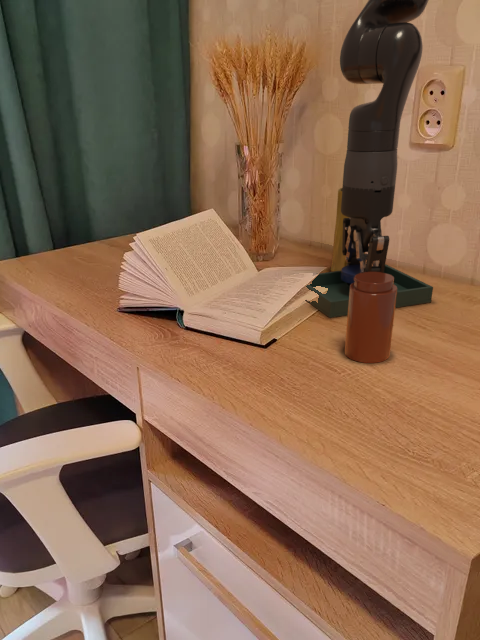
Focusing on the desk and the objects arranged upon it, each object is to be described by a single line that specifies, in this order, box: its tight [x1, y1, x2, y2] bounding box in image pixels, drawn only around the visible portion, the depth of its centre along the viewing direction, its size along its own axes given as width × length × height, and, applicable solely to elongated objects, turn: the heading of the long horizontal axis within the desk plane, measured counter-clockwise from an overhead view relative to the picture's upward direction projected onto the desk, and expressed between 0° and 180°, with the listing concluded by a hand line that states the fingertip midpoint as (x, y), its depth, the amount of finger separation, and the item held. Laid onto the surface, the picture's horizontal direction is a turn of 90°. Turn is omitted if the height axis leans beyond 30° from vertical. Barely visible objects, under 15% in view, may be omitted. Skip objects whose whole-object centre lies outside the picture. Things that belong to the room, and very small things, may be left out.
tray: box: [306, 263, 434, 319], centre depth 95 cm, size 17×13×2 cm
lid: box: [341, 264, 361, 284], centre depth 94 cm, size 6×6×2 cm
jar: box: [344, 272, 397, 364], centre depth 75 cm, size 6×6×10 cm
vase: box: [330, 187, 366, 272], centre depth 105 cm, size 6×6×14 cm
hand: (359, 290), depth 96 cm, fingers closed on lid, 5 cm apart
